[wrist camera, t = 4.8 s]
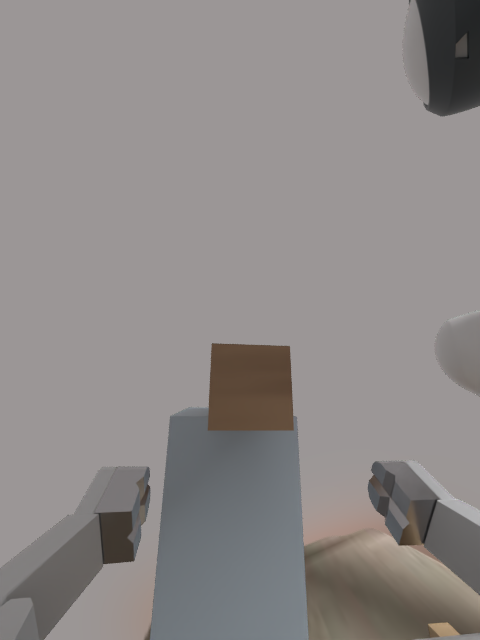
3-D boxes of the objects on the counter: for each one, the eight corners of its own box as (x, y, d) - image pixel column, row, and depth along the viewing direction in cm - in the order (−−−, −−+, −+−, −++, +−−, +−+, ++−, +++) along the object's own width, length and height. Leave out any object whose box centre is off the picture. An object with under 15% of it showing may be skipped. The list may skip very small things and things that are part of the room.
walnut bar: (210, 409, 30) (212, 375, 31) (243, 409, 30) (243, 376, 32) (207, 430, 11) (211, 343, 12) (293, 430, 12) (289, 346, 13)
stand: (170, 665, 26) (188, 407, 34) (263, 657, 27) (260, 408, 35) (114, 1032, 11) (170, 416, 19) (326, 984, 12) (296, 416, 20)
